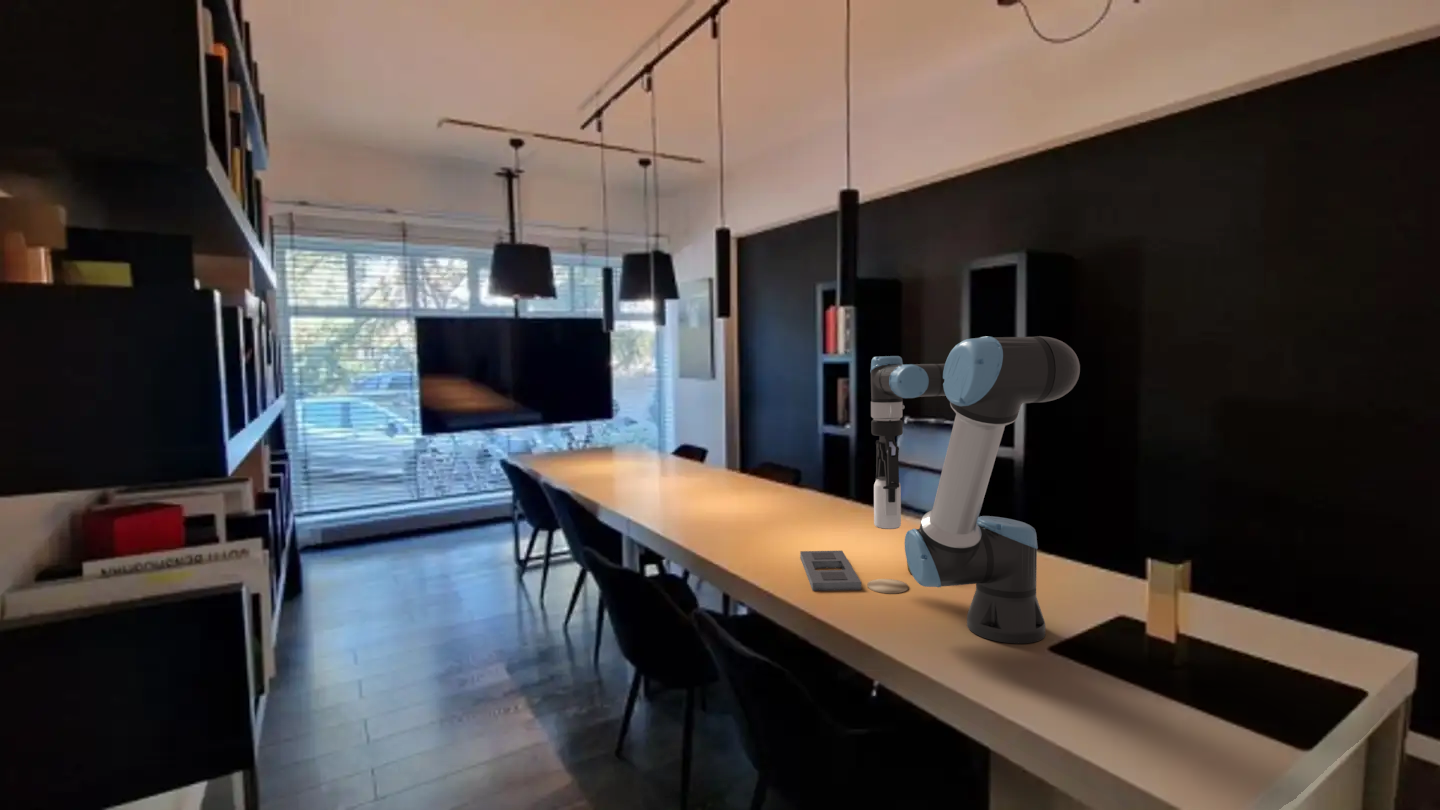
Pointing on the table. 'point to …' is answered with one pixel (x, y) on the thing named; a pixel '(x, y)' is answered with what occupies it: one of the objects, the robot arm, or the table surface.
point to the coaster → (887, 586)
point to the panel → (829, 571)
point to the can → (879, 507)
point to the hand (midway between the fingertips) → (887, 511)
